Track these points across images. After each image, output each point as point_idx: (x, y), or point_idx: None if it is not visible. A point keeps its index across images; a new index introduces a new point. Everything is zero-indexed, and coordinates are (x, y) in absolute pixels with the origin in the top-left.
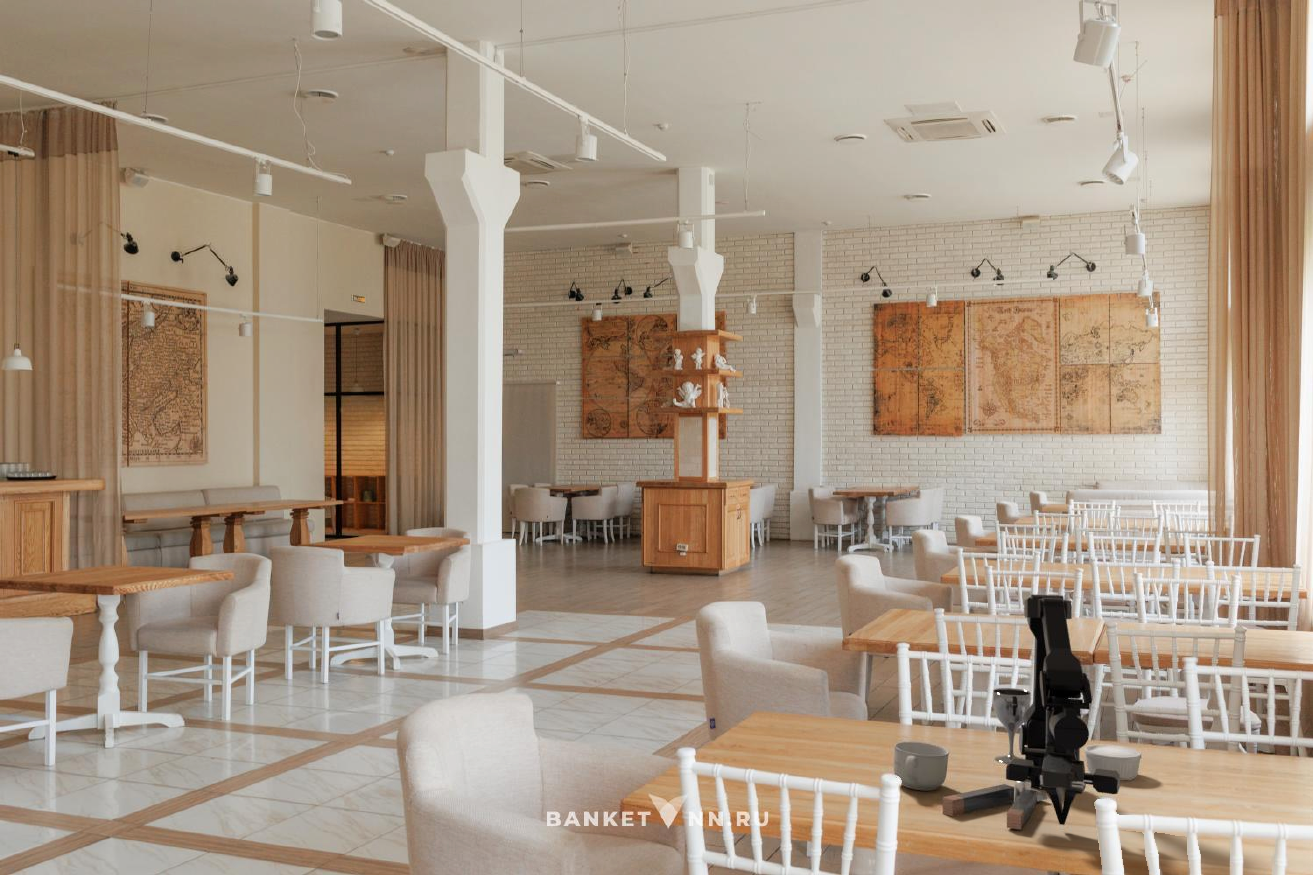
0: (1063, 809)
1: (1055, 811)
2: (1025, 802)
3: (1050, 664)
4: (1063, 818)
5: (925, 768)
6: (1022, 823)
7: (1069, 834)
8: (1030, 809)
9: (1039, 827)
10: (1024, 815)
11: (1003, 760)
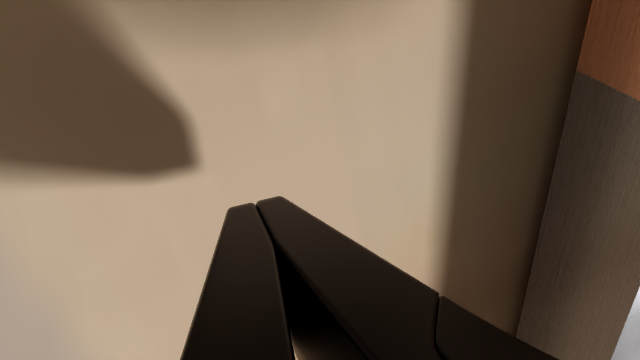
0: (273, 318)
1: (376, 255)
2: (632, 347)
3: None
4: (246, 237)
5: None
6: (617, 10)
7: (145, 139)
8: None
9: (438, 148)
10: (626, 141)
11: None
